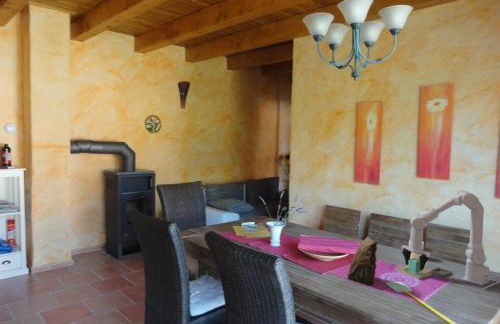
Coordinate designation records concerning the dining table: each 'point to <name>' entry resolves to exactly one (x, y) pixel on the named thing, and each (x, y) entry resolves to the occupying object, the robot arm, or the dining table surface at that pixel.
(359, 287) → the dining table surface
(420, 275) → the port
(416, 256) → the beige tapered cup
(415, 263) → the mint green block
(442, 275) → the dark brown square tray
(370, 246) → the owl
